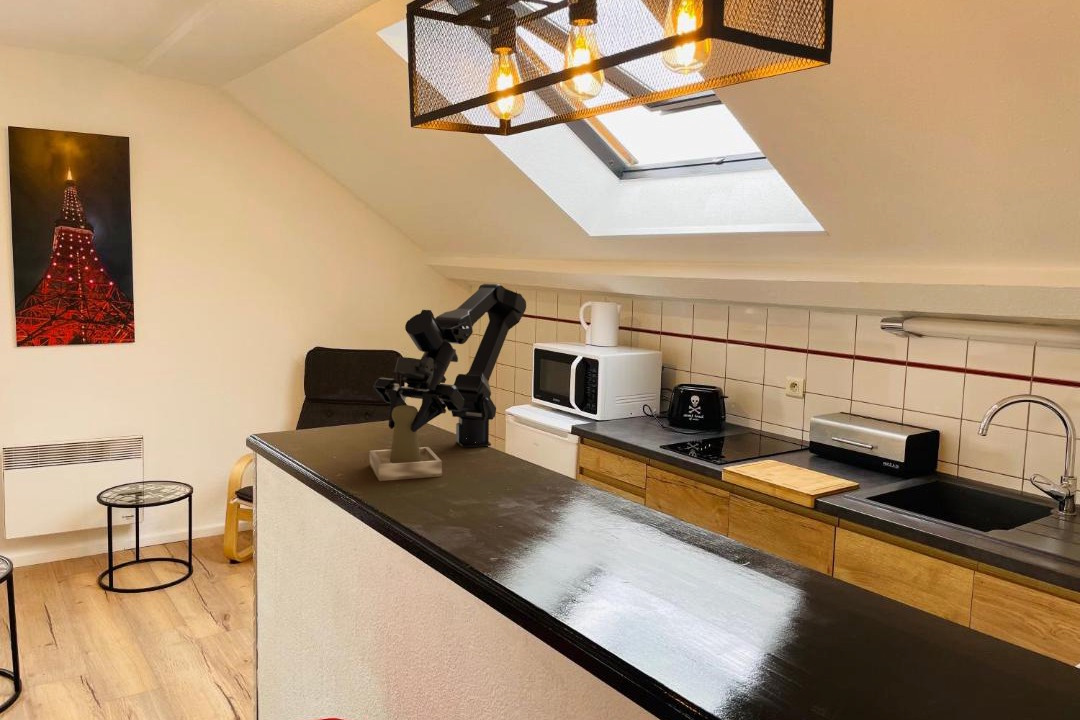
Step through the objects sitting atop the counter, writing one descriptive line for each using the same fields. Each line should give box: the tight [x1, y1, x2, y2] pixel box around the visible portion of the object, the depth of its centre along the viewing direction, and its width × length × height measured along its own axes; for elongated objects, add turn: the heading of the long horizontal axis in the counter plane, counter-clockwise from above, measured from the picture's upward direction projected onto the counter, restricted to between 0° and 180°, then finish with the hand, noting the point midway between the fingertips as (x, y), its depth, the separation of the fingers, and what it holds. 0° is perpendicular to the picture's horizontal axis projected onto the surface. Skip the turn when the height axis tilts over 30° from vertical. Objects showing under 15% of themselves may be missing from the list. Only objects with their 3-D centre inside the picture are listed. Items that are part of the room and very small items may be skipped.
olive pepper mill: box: [390, 404, 421, 463], centre depth 165 cm, size 6×6×11 cm
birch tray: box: [369, 446, 443, 482], centre depth 166 cm, size 12×12×3 cm
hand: (401, 429), depth 164 cm, fingers closed on olive pepper mill, 5 cm apart
